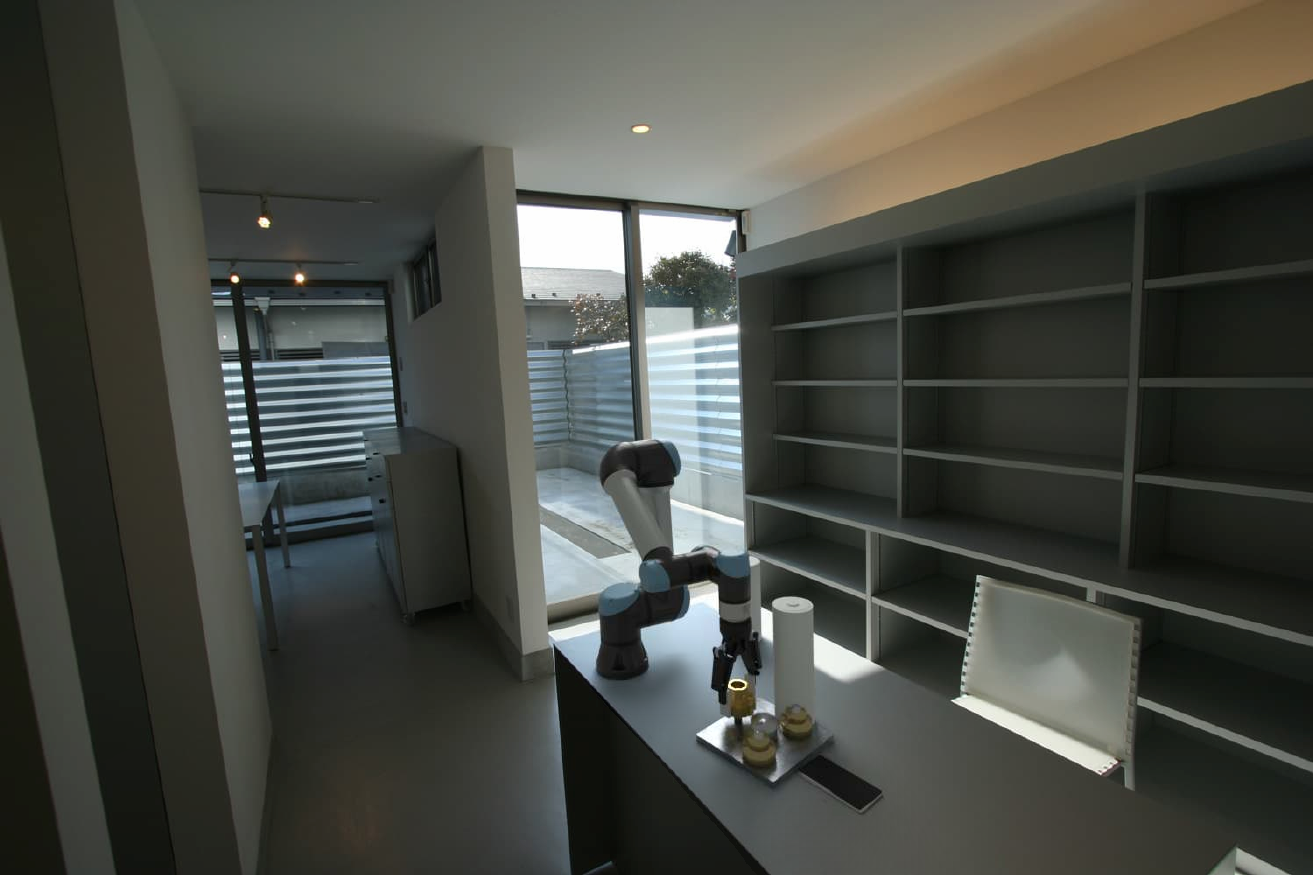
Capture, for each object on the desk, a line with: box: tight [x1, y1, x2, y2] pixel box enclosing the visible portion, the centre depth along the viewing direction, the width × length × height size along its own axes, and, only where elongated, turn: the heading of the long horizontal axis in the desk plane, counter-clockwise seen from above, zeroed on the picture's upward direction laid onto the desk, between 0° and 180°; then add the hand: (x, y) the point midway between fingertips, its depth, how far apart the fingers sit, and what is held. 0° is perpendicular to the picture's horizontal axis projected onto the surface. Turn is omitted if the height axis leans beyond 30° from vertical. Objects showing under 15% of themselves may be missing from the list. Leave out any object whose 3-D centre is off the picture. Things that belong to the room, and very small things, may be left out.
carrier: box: [695, 696, 835, 790], centre depth 135 cm, size 22×22×7 cm
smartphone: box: [797, 754, 883, 814], centre depth 121 cm, size 8×1×15 cm
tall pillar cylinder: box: [749, 555, 762, 643], centre depth 184 cm, size 11×11×25 cm
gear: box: [728, 679, 756, 719], centre depth 140 cm, size 8×8×6 cm
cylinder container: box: [771, 596, 816, 725], centre depth 141 cm, size 9×9×30 cm
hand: (738, 707), depth 141 cm, fingers closed on gear, 8 cm apart
